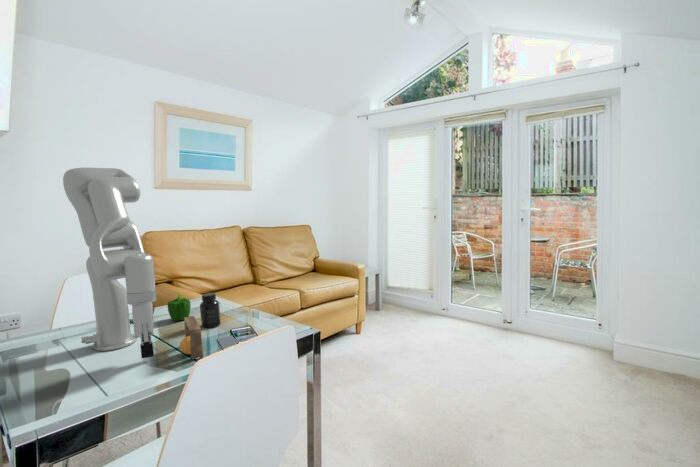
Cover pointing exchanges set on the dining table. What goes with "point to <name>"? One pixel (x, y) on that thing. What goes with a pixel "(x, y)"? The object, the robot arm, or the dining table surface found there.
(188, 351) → the ball
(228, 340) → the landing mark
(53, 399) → the dining table surface
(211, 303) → the supplement bottle
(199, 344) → the bridge
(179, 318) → the bell pepper
